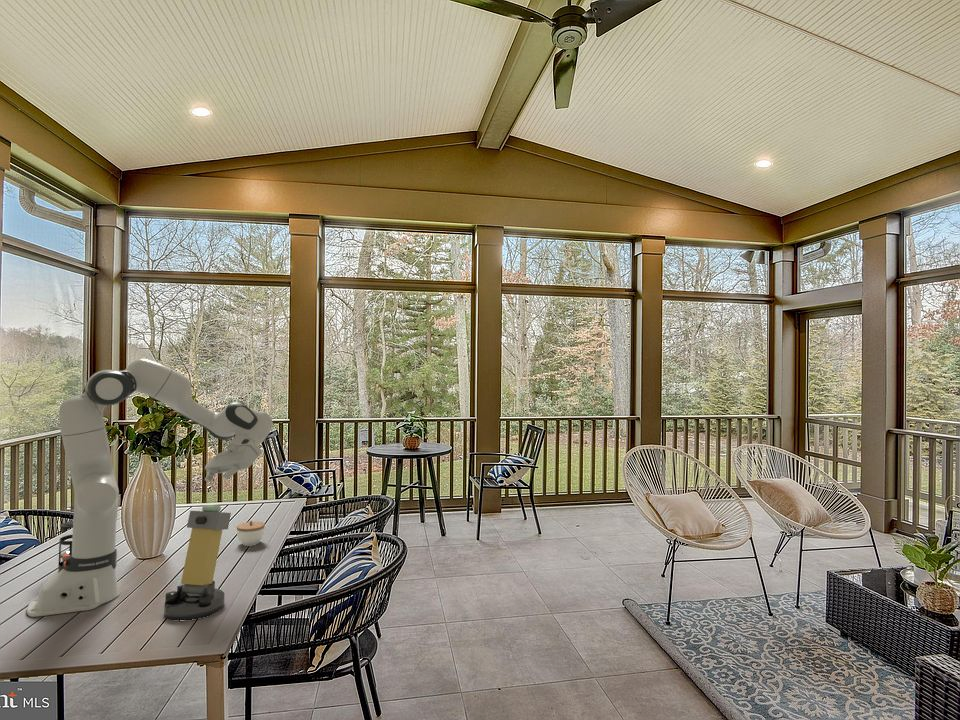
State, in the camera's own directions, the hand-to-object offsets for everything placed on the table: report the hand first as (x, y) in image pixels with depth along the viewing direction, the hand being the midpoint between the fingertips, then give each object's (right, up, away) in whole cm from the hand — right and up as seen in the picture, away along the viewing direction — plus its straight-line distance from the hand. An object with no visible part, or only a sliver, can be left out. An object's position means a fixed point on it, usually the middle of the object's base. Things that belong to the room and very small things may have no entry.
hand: (216, 479), depth 176 cm
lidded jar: (-7, -37, +43) cm, 57 cm away
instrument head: (+2, -31, -18) cm, 35 cm away
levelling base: (+2, -36, -17) cm, 39 cm away
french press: (-55, -35, +10) cm, 66 cm away
